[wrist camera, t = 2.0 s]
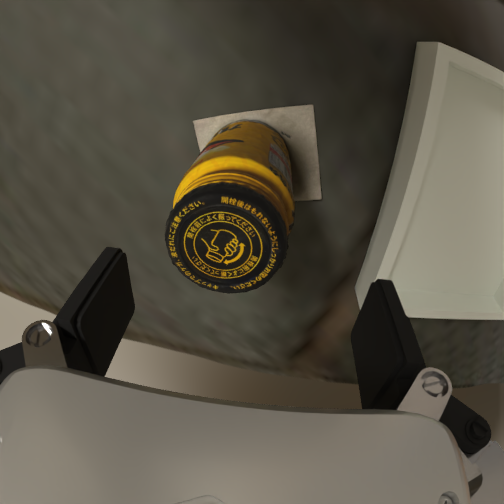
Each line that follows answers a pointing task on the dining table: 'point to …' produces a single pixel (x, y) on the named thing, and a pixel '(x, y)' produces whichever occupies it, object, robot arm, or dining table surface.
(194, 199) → the condiment
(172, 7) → the dining table surface
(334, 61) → the dining table surface
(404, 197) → the tray
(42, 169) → the dining table surface
